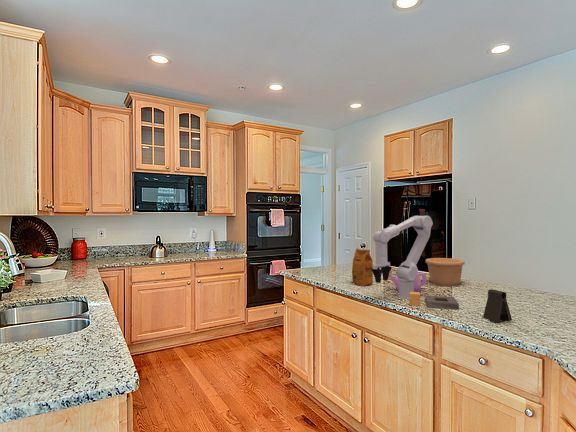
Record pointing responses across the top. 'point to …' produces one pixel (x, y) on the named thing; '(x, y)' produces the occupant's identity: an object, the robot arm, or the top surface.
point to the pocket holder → (441, 302)
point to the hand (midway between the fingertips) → (381, 281)
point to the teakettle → (416, 282)
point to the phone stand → (497, 307)
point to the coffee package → (362, 268)
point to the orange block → (414, 298)
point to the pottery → (445, 271)
